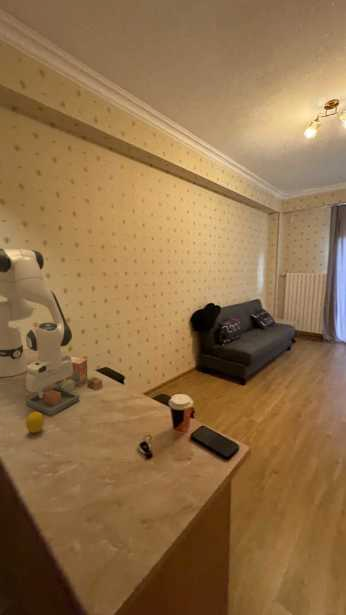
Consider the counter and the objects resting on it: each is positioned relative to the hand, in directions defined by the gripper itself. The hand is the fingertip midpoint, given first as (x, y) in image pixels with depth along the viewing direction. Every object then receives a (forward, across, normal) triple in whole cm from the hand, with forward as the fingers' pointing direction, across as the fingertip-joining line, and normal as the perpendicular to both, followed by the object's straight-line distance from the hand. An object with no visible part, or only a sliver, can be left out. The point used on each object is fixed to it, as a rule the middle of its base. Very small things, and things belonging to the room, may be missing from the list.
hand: (52, 392), depth 114 cm
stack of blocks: (+5, -17, -13) cm, 22 cm away
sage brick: (+5, -11, -5) cm, 13 cm away
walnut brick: (+5, -20, +4) cm, 21 cm away
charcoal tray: (+5, 0, 0) cm, 5 cm away
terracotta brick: (+4, 0, 0) cm, 4 cm away
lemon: (+5, +16, +12) cm, 21 cm away
